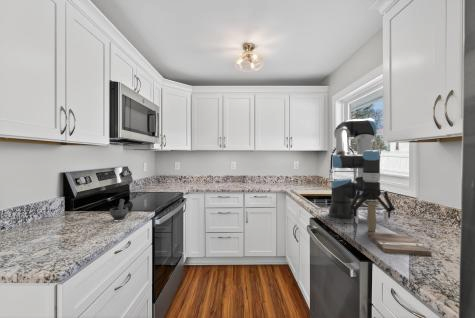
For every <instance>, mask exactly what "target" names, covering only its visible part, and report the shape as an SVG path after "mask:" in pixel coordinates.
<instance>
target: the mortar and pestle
mask: <svg viewBox="0 0 475 318" xmlns="http://www.w3.org/2000/svg"><path fill="white" fill-rule="evenodd" d="M125 201H126V200H125V199H124V198H120V199H119V203H118V206H117V207H112V208H110V209H109V215H110V216H111V217H112V218H113V219H114V220H123V219H126V216H127V215H128V212H129V208H128V207H126V206H124V203H125ZM123 221H124V220H123Z"/></svg>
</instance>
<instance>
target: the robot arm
mask: <svg viewBox="0 0 475 318" xmlns="http://www.w3.org/2000/svg"><path fill="white" fill-rule="evenodd" d="M333 136H334V138H335V154H333V155H332V159H331V161H332V163H331V164H332V168H335V169H357V176H356V177H355V178H354V180H352V178H350V177H349V178H338V179H334V180H332V181H331V187H330V188H331V203H330V206H329V209H328V216H330V217H333V218H338V219H355V223H356V224H359V210H358V209H359V208H360V207H361V206H362V205H363V204H364V203H365V201H366V200H374V201H377V202H378V204H380V205H381V206H382V208H383V209H384V211H383V213H384V214H383V217H384V218H383V220H384V225H386V226H389V219H390V218H391V212H392V211H395V210H396V209H395V206H394V205H393V203H392V201H391V199H390V197H389V196H388V191H385V190H383V191H381V182H380V181H381V167H380V166H381V152H380V150H376V149H375V150H373V144H372V142H373V140H374V139H375V137H376V136H377V124H376V122H375V120H374V119H373V118H362V119H361V118H359V119H347V120H344V121H342V122H339V124H338V125H337V126H336V128H334V132H333ZM350 138H353V140H354V141H355V142H356V154H351V151H350ZM380 196H383V198H384V200H385V202H386V203H385V202H384V201H383V200H382V198H381V197H380ZM357 201H358V202H357Z"/></svg>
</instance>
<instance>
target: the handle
mask: <svg viewBox="0 0 475 318" xmlns="http://www.w3.org/2000/svg"><path fill="white" fill-rule="evenodd" d="M364 203H365V205H367V213H366V214H367V215H366V224H367V230H368V232H370V233H376V227H377V215H376V206H379V201H378V200H376V201H374V200H366V201H364Z"/></svg>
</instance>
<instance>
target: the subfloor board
mask: <svg viewBox="0 0 475 318" xmlns="http://www.w3.org/2000/svg"><path fill="white" fill-rule="evenodd" d="M367 237H369V238H370V240H372V241H373V242H374V244H375V245H376V246H377V247H379V249H381V250H382V251H383V252H384V253H389V254H390V253H391V254H402V255H403V254H405V255H406V254H407V255H416V256H417V255H419V256H432V250H430V249H428V248H427V247H425V246H424V245H423V244H422V243H420V242H418V241H416V240H415V239H413V237H412V238H411V237H410V236H409V235H408V234H403V233H402V234H401V233H400V234H399V233H387V232H386V233H385V232H383V233H382V232H370V231H367Z"/></svg>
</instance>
